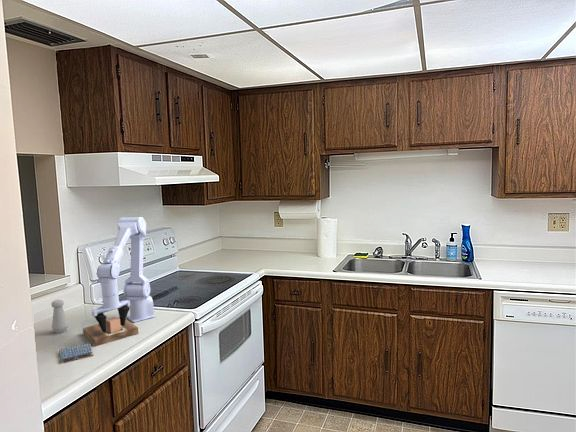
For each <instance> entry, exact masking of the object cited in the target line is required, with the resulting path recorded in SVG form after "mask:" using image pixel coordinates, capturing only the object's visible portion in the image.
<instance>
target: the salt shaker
mask: <svg viewBox="0 0 576 432" xmlns="http://www.w3.org/2000/svg"><path fill="white" fill-rule="evenodd" d="M64 303H65V302H64V300H62V299H56V300H53V301H52V302H51V304H50V305H51V308H53V312H52V322H51V329H52V331H53V332H54V333H55V334H62V333H65V332H66V331H67V329H68V327H69V323H68V320H67V317H66V314H65V313H66V312H65V311H64V307H63V306H64Z"/></svg>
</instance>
